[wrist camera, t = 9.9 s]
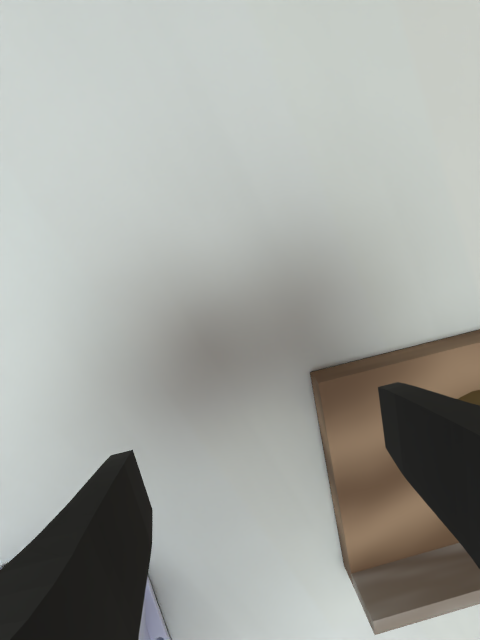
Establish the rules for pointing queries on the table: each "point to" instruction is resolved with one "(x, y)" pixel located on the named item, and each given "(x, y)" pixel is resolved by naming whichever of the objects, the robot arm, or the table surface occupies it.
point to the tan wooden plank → (393, 486)
